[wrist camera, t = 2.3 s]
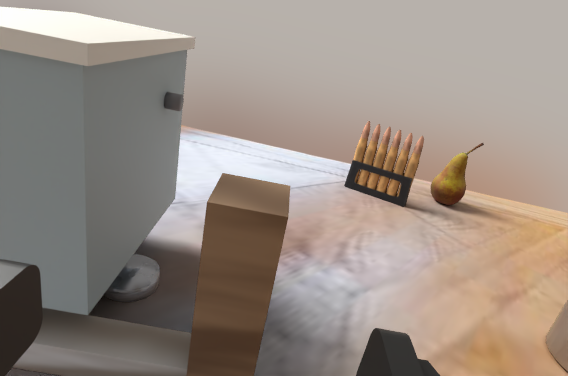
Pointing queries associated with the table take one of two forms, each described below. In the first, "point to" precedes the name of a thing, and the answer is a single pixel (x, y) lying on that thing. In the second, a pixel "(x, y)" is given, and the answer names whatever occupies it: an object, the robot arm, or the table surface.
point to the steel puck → (135, 280)
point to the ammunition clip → (386, 170)
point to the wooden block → (208, 304)
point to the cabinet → (85, 145)
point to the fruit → (451, 180)
